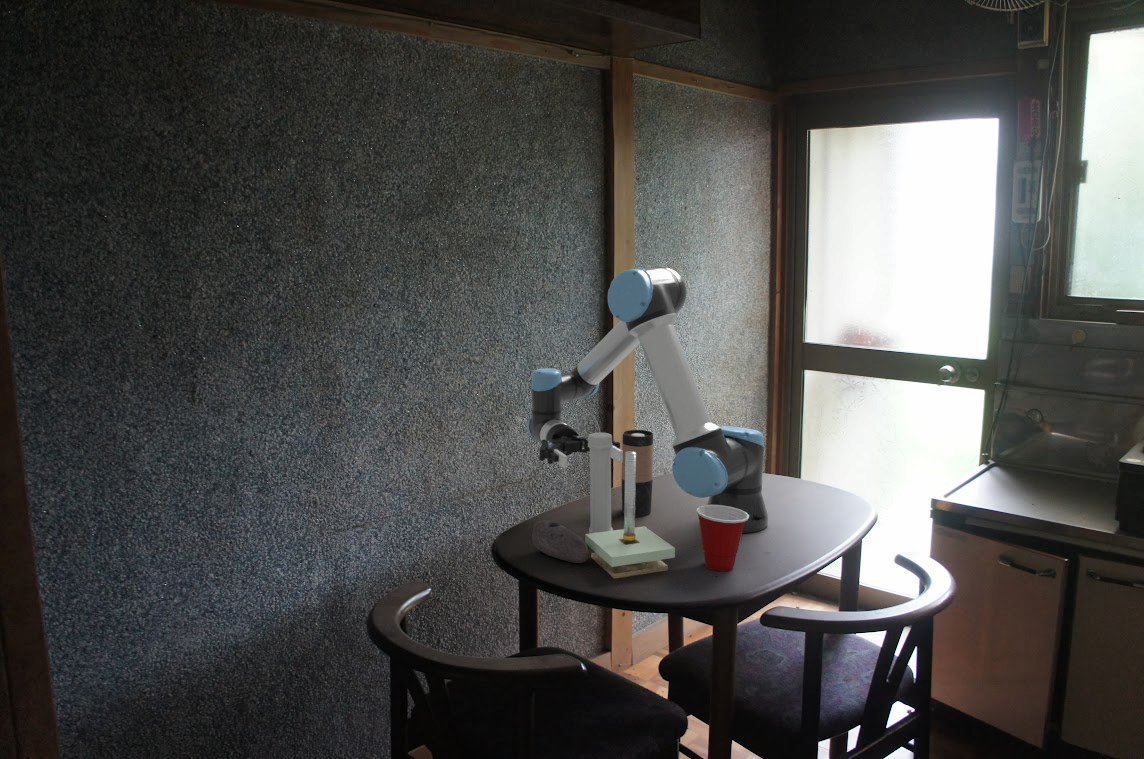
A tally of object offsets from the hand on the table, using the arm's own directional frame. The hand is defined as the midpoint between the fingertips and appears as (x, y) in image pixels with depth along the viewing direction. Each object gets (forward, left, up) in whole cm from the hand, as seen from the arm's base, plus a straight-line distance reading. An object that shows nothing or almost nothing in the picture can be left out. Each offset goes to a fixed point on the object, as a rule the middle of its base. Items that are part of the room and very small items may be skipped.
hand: (593, 459), depth 192 cm
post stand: (-10, +16, -18) cm, 26 cm away
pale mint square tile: (-10, +16, -15) cm, 24 cm away
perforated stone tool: (+5, +15, -18) cm, 24 cm away
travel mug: (-9, -18, -18) cm, 27 cm away
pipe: (-2, +3, -18) cm, 18 cm away
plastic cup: (-29, +14, -18) cm, 36 cm away
